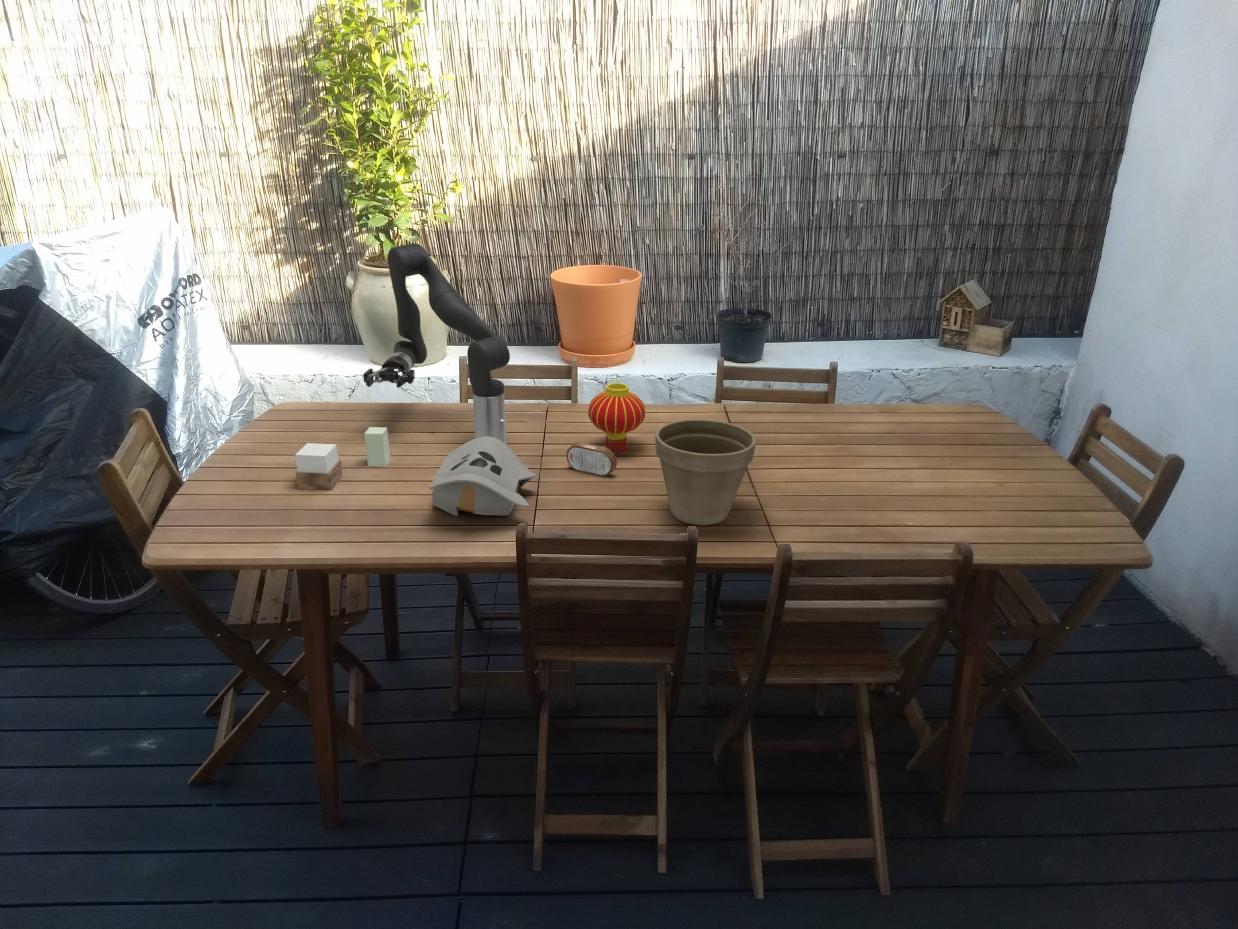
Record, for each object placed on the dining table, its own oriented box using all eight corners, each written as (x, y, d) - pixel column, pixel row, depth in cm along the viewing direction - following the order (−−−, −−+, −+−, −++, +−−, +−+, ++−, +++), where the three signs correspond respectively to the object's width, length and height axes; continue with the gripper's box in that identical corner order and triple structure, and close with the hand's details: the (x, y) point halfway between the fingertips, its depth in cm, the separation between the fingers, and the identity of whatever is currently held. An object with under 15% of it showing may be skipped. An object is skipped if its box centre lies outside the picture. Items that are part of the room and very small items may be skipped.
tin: (617, 475, 226) (617, 448, 223) (612, 480, 224) (613, 452, 220) (570, 465, 232) (570, 438, 228) (564, 469, 229) (564, 442, 226)
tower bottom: (342, 476, 221) (340, 460, 219) (331, 491, 213) (329, 474, 211) (310, 475, 221) (307, 459, 219) (298, 490, 213) (295, 473, 211)
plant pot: (694, 483, 223) (700, 410, 214) (767, 514, 207) (776, 436, 198) (631, 510, 207) (634, 433, 198) (705, 546, 191) (711, 464, 182)
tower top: (338, 461, 219) (336, 444, 217) (327, 473, 211) (325, 456, 209) (309, 459, 219) (307, 443, 217) (297, 472, 212) (295, 454, 210)
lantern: (578, 454, 239) (578, 357, 226) (601, 435, 253) (602, 343, 241) (631, 465, 233) (635, 366, 221) (651, 444, 248) (656, 350, 235)
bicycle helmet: (443, 474, 220) (452, 423, 213) (533, 495, 222) (545, 445, 215) (417, 523, 194) (426, 466, 188) (520, 546, 196) (532, 491, 190)
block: (390, 459, 232) (387, 427, 228) (385, 466, 228) (382, 434, 224) (372, 459, 232) (369, 427, 228) (368, 466, 228) (364, 433, 224)
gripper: (373, 354, 245) (357, 371, 230) (419, 356, 245) (406, 372, 230) (375, 378, 248) (359, 395, 233) (421, 379, 248) (408, 396, 233)
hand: (383, 384), depth 232 cm, fingers open, 8 cm apart
